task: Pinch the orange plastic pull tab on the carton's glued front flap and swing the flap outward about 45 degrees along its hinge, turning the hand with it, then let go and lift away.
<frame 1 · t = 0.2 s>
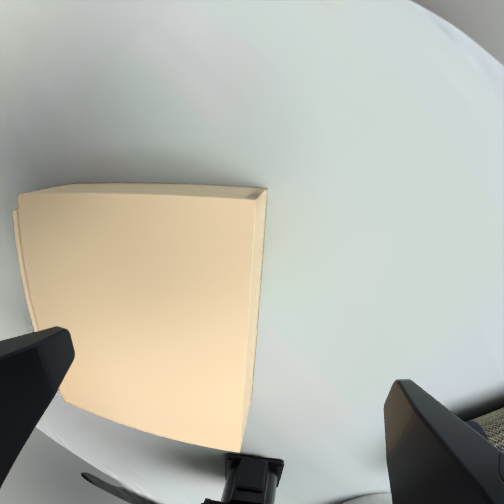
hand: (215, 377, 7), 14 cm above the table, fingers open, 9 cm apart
carton: (158, 298, 23), on the table
carton flap: (35, 307, 19), point 6 cm above the table, hinge at 0.0°
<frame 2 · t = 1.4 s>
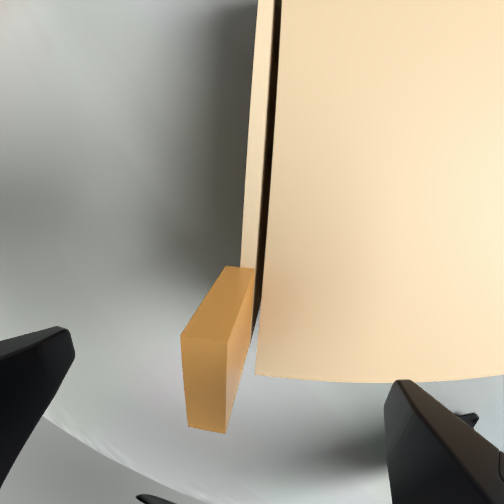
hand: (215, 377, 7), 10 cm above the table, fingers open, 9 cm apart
carton: (424, 165, 14), on the table
carton flap: (252, 129, 10), point 6 cm above the table, hinge at 0.0°
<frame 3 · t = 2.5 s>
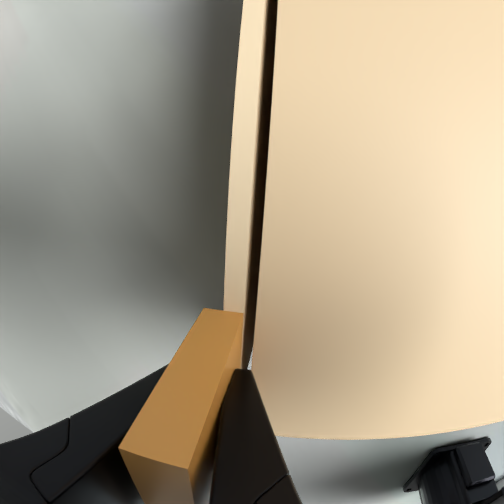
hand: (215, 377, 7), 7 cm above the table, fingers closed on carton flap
carton: (452, 169, 11), on the table
carton flap: (240, 118, 7), point 6 cm above the table, hinge at 0.0°, touching gripper
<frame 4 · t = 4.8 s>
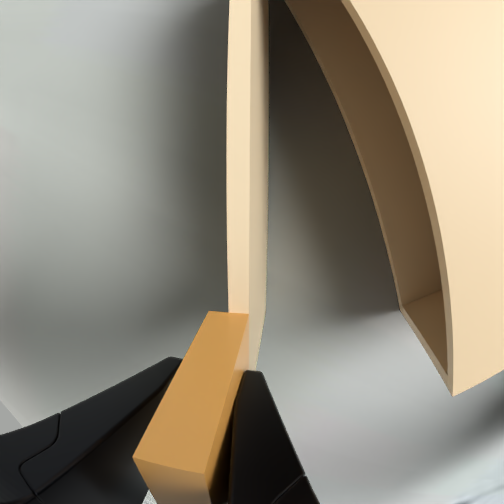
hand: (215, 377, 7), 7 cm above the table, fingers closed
carton: (482, 93, 10), on the table
carton flap: (233, 119, 7), point 6 cm above the table, hinge at 22.2°, touching gripper
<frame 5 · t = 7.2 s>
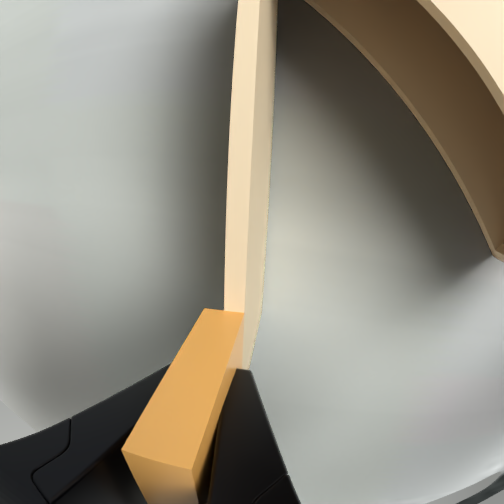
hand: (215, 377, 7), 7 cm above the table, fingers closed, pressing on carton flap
carton: (491, 37, 9), on the table
carton flap: (237, 118, 7), point 6 cm above the table, hinge at 43.9°, touching gripper
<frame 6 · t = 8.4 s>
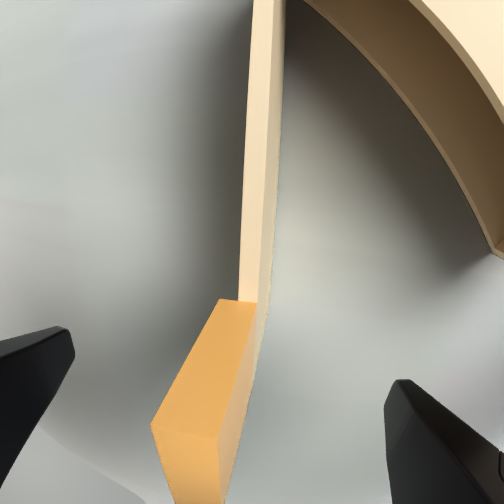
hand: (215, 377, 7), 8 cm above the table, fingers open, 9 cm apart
carton: (491, 42, 9), on the table
carton flap: (251, 121, 7), point 6 cm above the table, hinge at 44.1°
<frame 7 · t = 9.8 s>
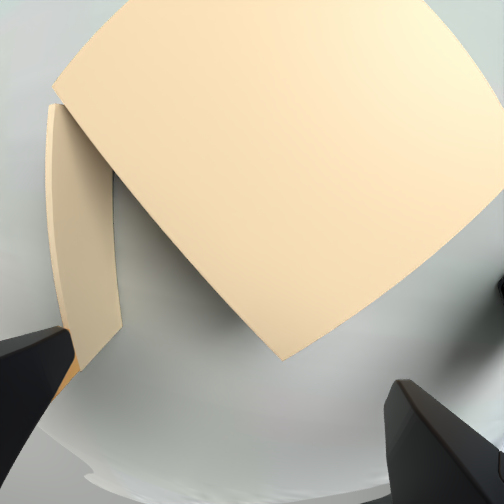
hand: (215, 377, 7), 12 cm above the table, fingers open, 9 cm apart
carton: (293, 111, 16), on the table
carton flap: (59, 248, 14), point 6 cm above the table, hinge at 44.1°
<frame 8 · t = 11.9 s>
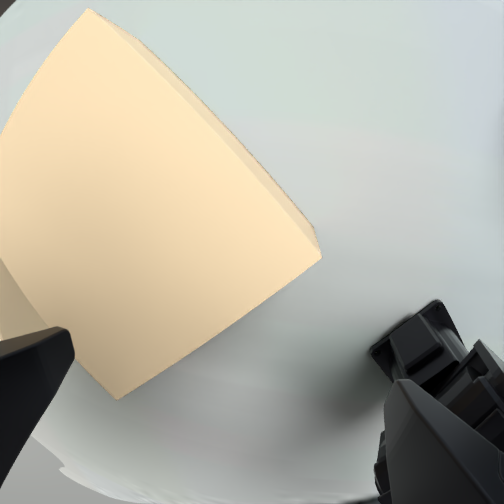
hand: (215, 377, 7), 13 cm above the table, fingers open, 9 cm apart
carton: (135, 202, 20), on the table
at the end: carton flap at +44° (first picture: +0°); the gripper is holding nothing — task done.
